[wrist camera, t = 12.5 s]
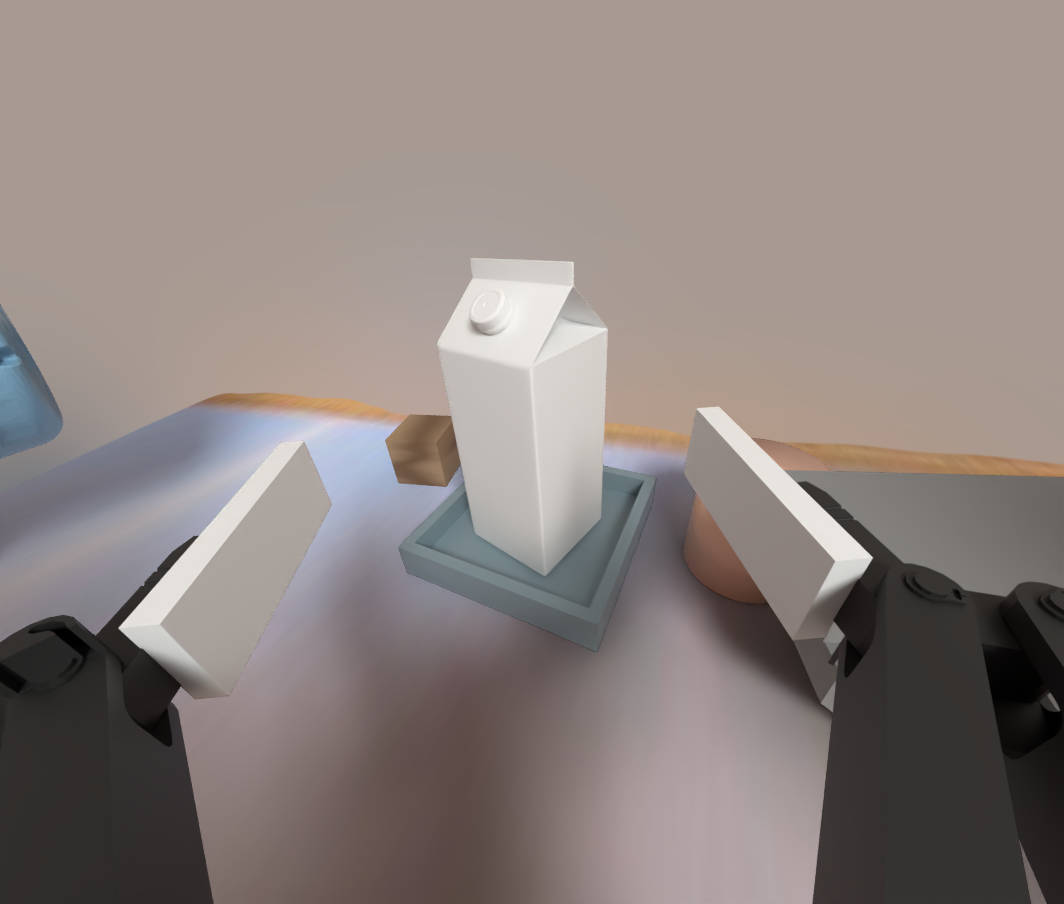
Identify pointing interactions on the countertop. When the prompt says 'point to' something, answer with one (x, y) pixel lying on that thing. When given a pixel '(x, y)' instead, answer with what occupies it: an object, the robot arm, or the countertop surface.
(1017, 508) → the sharpening stone
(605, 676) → the countertop surface
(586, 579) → the tray
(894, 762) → the robot arm
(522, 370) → the milk carton
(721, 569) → the peach round cylinder
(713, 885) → the countertop surface
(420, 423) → the walnut block
